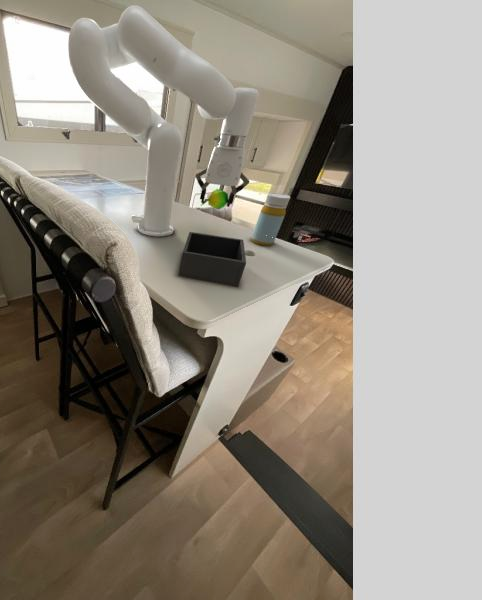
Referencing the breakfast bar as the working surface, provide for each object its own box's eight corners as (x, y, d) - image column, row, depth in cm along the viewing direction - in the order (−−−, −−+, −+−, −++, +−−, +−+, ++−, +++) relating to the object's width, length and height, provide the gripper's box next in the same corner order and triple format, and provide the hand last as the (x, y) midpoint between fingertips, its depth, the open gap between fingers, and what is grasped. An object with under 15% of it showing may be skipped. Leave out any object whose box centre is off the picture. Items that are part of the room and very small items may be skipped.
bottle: (275, 247, 81) (295, 199, 73) (252, 244, 82) (269, 197, 74) (270, 239, 87) (287, 193, 78) (249, 237, 88) (264, 191, 79)
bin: (178, 275, 64) (182, 252, 60) (185, 252, 76) (189, 231, 72) (237, 287, 61) (246, 262, 57) (236, 261, 72) (243, 239, 68)
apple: (229, 184, 83) (208, 184, 79) (235, 201, 82) (214, 202, 78) (214, 197, 89) (194, 198, 86) (220, 213, 88) (200, 214, 85)
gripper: (200, 140, 73) (187, 202, 83) (264, 146, 69) (242, 211, 79) (202, 139, 79) (190, 197, 89) (261, 145, 75) (241, 205, 85)
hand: (215, 203), depth 84 cm, fingers closed on apple, 8 cm apart
